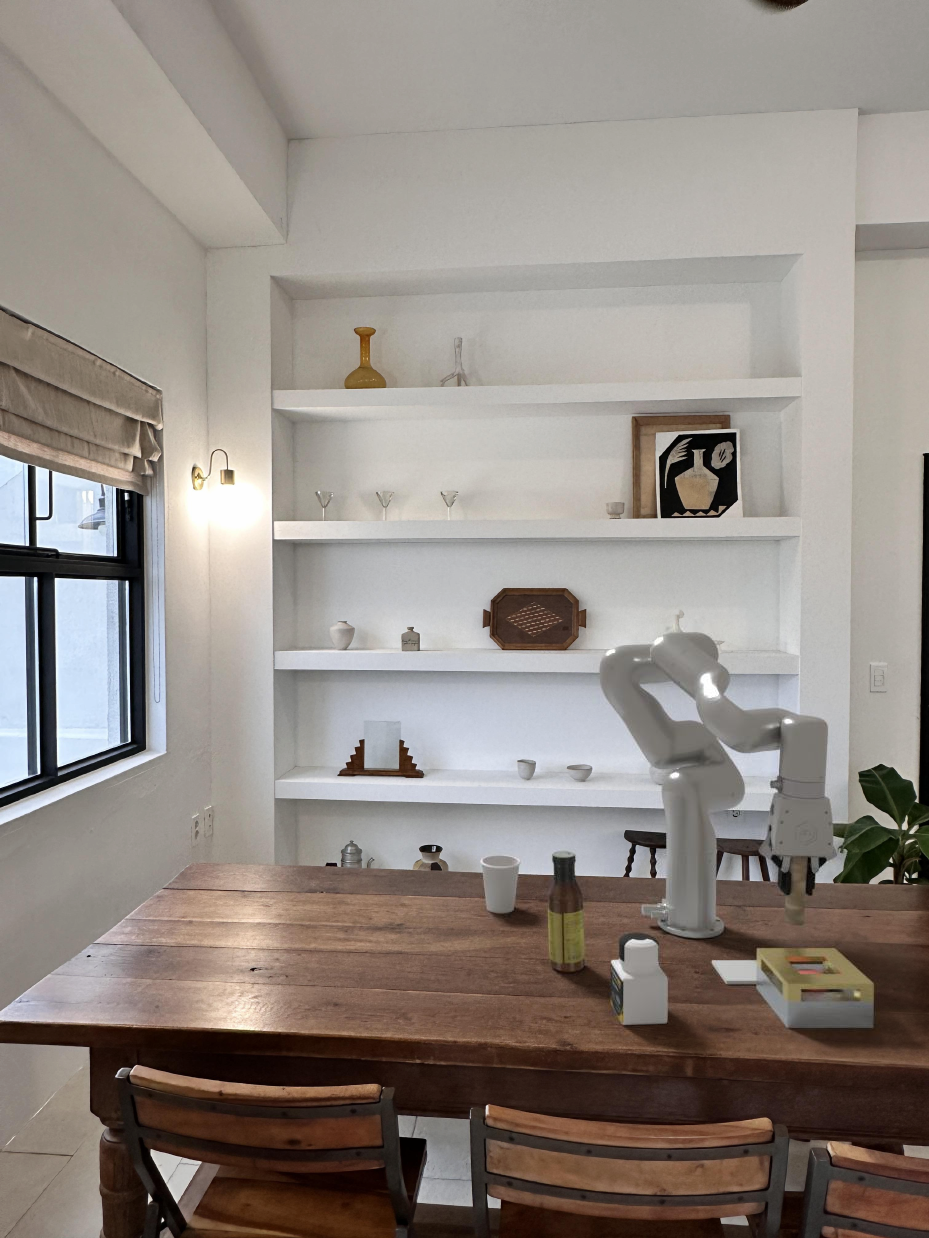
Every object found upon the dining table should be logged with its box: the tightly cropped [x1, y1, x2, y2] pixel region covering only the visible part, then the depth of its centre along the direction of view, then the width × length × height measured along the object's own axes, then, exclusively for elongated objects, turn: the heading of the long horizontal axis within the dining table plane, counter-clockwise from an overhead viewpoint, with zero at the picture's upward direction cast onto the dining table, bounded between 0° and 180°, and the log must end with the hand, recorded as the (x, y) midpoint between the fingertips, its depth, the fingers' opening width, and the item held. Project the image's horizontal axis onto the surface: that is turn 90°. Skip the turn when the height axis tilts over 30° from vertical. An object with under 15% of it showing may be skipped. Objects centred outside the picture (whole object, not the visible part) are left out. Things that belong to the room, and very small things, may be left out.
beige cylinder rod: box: [784, 857, 808, 926], centre depth 146 cm, size 3×3×15 cm
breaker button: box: [797, 969, 829, 992], centre depth 133 cm, size 5×5×2 cm
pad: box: [711, 959, 757, 985], centre depth 145 cm, size 8×8×1 cm
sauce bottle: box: [547, 850, 586, 973], centre depth 148 cm, size 6×6×20 cm
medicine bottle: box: [610, 931, 669, 1026], centre depth 131 cm, size 7×7×12 cm
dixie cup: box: [480, 854, 521, 914], centre depth 176 cm, size 8×8×10 cm
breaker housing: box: [755, 947, 875, 1029], centre depth 133 cm, size 13×13×7 cm
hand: (795, 891), depth 146 cm, fingers closed on beige cylinder rod, 3 cm apart
